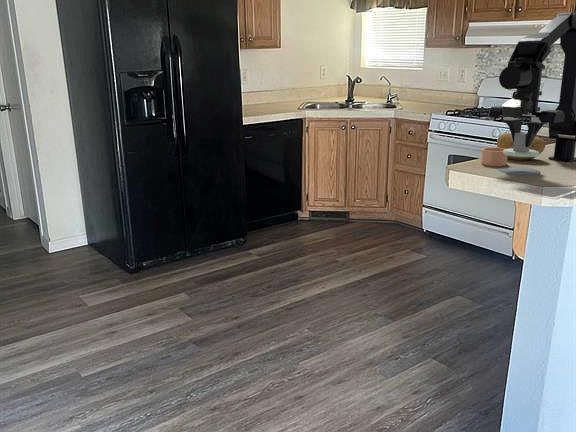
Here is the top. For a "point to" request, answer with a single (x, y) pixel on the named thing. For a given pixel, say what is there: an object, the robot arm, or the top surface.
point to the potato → (507, 143)
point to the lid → (520, 147)
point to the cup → (493, 156)
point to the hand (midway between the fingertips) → (521, 146)
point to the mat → (519, 171)
